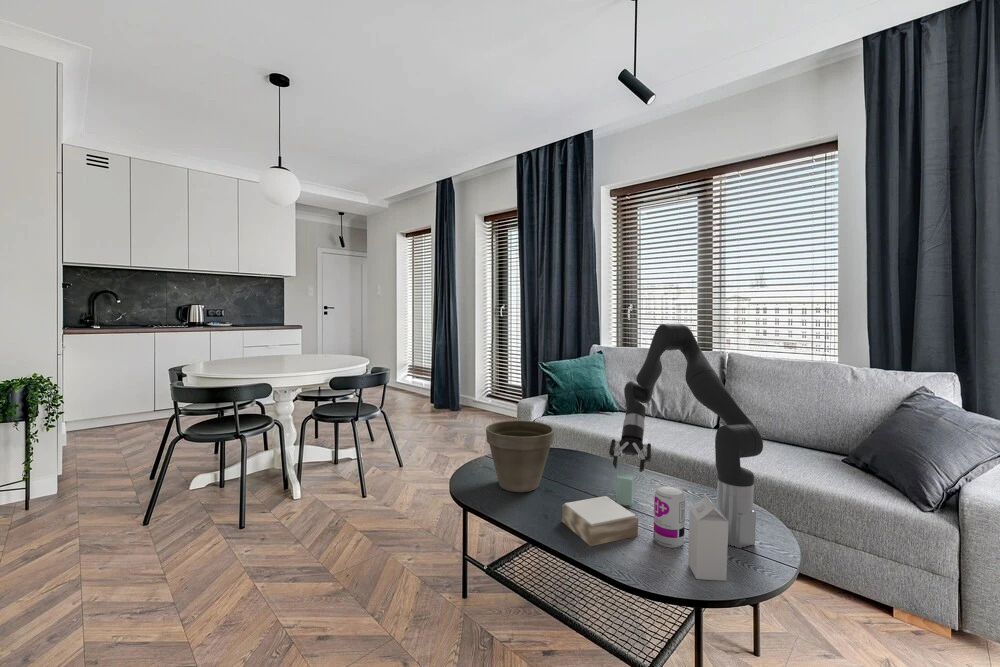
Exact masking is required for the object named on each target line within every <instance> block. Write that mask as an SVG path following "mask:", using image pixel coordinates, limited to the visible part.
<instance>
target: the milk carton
mask: <svg viewBox="0 0 1000 667" xmlns="http://www.w3.org/2000/svg"><path fill="white" fill-rule="evenodd" d="M688 522H689V523H688V526H689V527H688V528H689V529H688V559H687V560H688V562H687V564H688V566H689V568H690V570H691V572H692V573H693V574H692V575H693V576H694V577H695V579H696V580H706V581H722V582H723V581H725V582H726V581H727V574H728V573H727V571H728V569H727V568H728V546H729V545H728V521H727V519H726V518H725V517H724V516H723V515H722V513H721V512H720V511H719V510H718V509H717V506H715V504H714V503H713V501H712V500H711V499H710V497H709V496H707V494H706V493H703V497H702V498H701V499H700V500H698V501H697V502H696V503H694V504H693V505H691V507H689V521H688Z"/></svg>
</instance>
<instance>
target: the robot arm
mask: <svg viewBox="0 0 1000 667" xmlns="http://www.w3.org/2000/svg"><path fill="white" fill-rule="evenodd" d="M666 351H679V352H681V353H682V354H683V356H684V358H685V360H686V369H685V376H684V377H685V378H684V379H685V382H686V384H687V387H688V388H689V390H690V391H691V393H692V395H693V396H694V398H695V399H696V400H697V401H698V403H700V404H701V405H702V406H704V407H705V408H707V409H708V410H710V411H711V412H712V413H714V414H715V415H717V416H718V417H719V418H720V419H721V420H722V421H723V422H724V423H725V424H724V425H721V426H720V427H719V428H717V430H716V433H715V439H714V446H715V447H714V449H715V450H714V452H715V453H714V454H715V468H716V472H717V489H716V490H717V491H716V493H717V494H716V495H717V496H716V508H717V509H718V510H719V511H720V512H721V513H722V515H723V516H724V517H725V518H726V519H727V521H728V546H730V545H731V547H734V546H735V547H734V548H737V549H739V548H740V549H743V548H742V547H744V548H747V547H746V546H748V547H750V546H749V545H752V544H755V545H756V527H757V526H756V524H757V523H756V522H757V512H756V511H755V510H754V491H755V490H754V489H755V474H754V473H753V472H752V471H751V470H749V469H748V468H745V467H742V466H741V458H751V457H756V456H759V455H761V453H762V452H763V448H764V441H763V438H762V435H761V434H760V431H759V430H758V428H757V427H756V425H755V424H754V423H753V422H752V421H751V419H750V418H749V417H748V416H747V414H745V412H744V411H743V410H742V409H741V407H740V406H739V405H738V404H737V402H736V401H735V399H734V398H733V397H732V395H731V393H730V392H729V391H728V390H727V388H726V387H725V385H724V383H723V381H722V379H721V378H720V377H719V376H718V375H719V374H717V372H716V371H715V370H714V368H713V367H712V365H711V364H710V362H709V361H708V359H707V357H706V356H705V354H704V353H703V351H702V348H700V345H699V343H698V341H697V339H696V337H695V336H694V333H693V332H692V330H691V329H690V327H689V326H688V324H687V325H686V324H685V323H682V322H681V323H679V322H678V323H677V322H676V323H672V322H671V323H662V324H659V325H658V327H657V328H656V329H655V331H654V334H653V337H652V340H651V343H650V346H649V348H648V351H647V355H646V358H645V361H644V363H643V365H642V366H641V368H640V370H639V372H638V373H637V375H636V379H635V380H636V381H631V380H630V381H628V382H627V383H626V384H625V386H624V389H623V393H624V394H623V396H624V400H625V407H626V408H625V415H624V419H623V425H622V432H621V437H620V438H621V439H620V440H619V441H617V440H616V439H613V438H612V440H611V443H610V446H609V451H608V452H609V453H608V454H609V457H610V458H613V459H612V460H613V461H612V466H613V468H614V469H616V470H618V465H619V458H620V457H622V456H623V455H628V456H629V455H631V456H637V458H638V459H640V462H639V473H643V471H645V466H646V463H647V462H648V463H650V462H652V444H651V443H650V442H648V443H647V444H644V443H643V442H644V435H645V426H646V423H645V420H646V410H647V409H646V406H645V404H648V403H649V402H650V401H651V400H652V398H653V397H652V396H653V392H654V387H655V385H656V383H657V381H658V379H659V378H660V376H661V374H662V370H663V365H662V361H661V356H662V355H663V353H664V352H666ZM617 447H619V448H618V450H617V451H616V450H615V449H616V448H617ZM643 449H645V451H646V456H644V454H643V452H642V451H643ZM615 451H616V452H615ZM752 546H753V545H752Z"/></svg>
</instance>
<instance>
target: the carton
mask: <svg viewBox="0 0 1000 667" xmlns="http://www.w3.org/2000/svg"><path fill="white" fill-rule="evenodd" d="M634 496H635V475H634V474H631V473H624V472H618V475H617V476H616V497H615V498H616V501H615V502H616V503H618V504H619V505H621V504H624V505H623V506H627V505H630V506H629V507H632V506H633V504H632V503H634V501H633V500H634V499H635V498H634Z"/></svg>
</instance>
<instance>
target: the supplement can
mask: <svg viewBox="0 0 1000 667" xmlns="http://www.w3.org/2000/svg"><path fill="white" fill-rule="evenodd" d="M653 499H654V500H653V501H654V503H653V505H654V506H653V539H654V541H656V543H657V544H658V545H660V546H662V547H665V548H671V549H676V548H677V549H678V548H680V547H681V546H683V545H684V544H685V529H686V528H685V524H686V522H685V521H686V520H685V519H686V495H685V493H684V491H683V489H682V488H680V487H677V486H675V485H670V484H669V485H665V484H664V485H662V484H661V485H659V486H657V488H656V490H655V491H654V496H653Z"/></svg>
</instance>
